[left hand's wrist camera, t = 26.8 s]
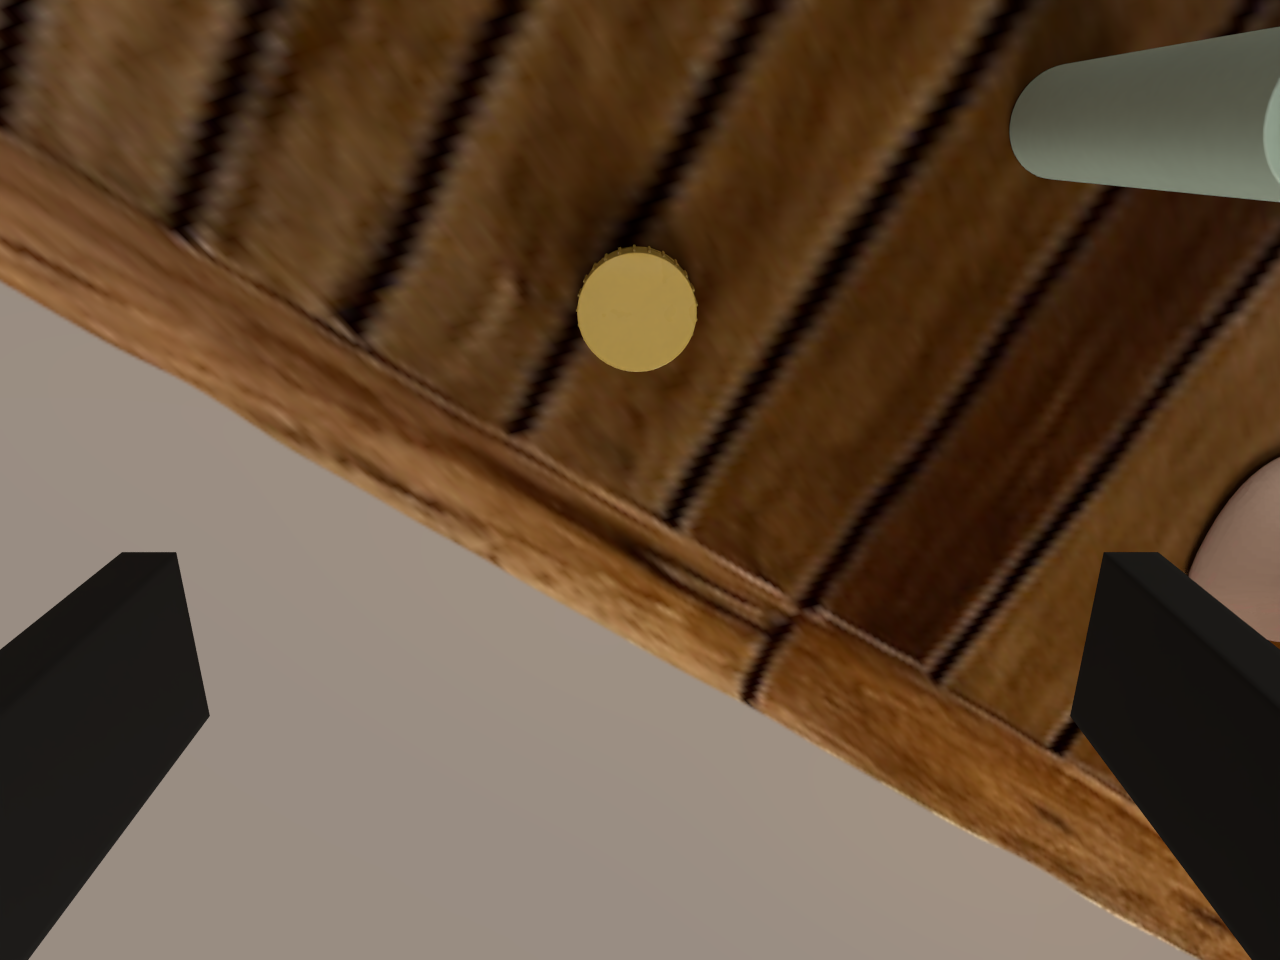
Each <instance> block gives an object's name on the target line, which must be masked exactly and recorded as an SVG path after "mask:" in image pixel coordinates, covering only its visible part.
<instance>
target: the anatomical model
mask: <svg viewBox="0 0 1280 960" xmlns="http://www.w3.org/2000/svg"><path fill="white" fill-rule="evenodd" d="M1188 577H1189V578H1191V579H1192V580H1193V581H1194V582H1196V583H1197V584H1198V585H1199V586H1201V587H1202V588H1203V589H1204V590H1206V591H1207V592H1208V593H1209V594H1211V595H1212V596H1213V597H1214V598H1216V599H1217V600H1218V601H1219V602H1221V603H1222V604H1223V605H1224V606H1226V607H1227V608H1228V609H1229V610H1231V611H1232V612H1233V613H1234V614H1236V615H1237V616H1238V617H1239V618H1241V619H1242V620H1243V621H1244V622H1246V623H1247V624H1248V625H1249V626H1251V627H1252V628H1253V629H1254V630H1256V631H1257V632H1258V633H1259V634H1261V635H1262V636H1263V637H1264V638H1266V639H1267V640H1271V641H1277V642H1280V457H1279V458H1277V459H1275V460H1273V461H1271V462H1270V463H1268V464H1266V465H1265V466H1263V467H1262V468H1261V469H1259V470H1258V471H1257V472H1256V473H1254V474H1253V475H1252V476H1251V477H1250V478H1249V479H1248V480H1247V481H1246V482H1245V483H1244V484H1242V485H1241V487H1240V488H1239V489H1238V490H1237V491H1236V492H1235V494H1234V495H1233V496H1232V497H1231V498H1230V499H1229V501H1228V502H1227V504H1226V505H1225V506H1224V508H1223V509H1222V511H1221V512H1220V513H1219V515H1218V516H1217V518H1216V520H1215V521H1214V523H1213V525H1212V526H1211V528H1210V530H1209V531H1208V533H1207V535H1206V537H1205V539H1204V540H1203V542H1202V544H1201V546H1200V548H1199V550H1198V552H1197V554H1196V557H1195V559H1194V561H1193V564H1192V566H1191V569H1190V572H1189V575H1188Z"/></svg>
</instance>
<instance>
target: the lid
mask: <svg viewBox="0 0 1280 960" xmlns="http://www.w3.org/2000/svg"><path fill="white" fill-rule="evenodd" d="M583 282H584V285H583V287H582V288H580V291H579V293H578V297H579V300H578V306H577V308H576V312H577V316H578V327H579V328H580V331H581V334H582V336H583V339H584V341H585V342H586V344H587V345H588V347H589V348H590V349H591V351H592V352H593V353H594V354H595V355H596V356H597V357H598V358H600V359H601V360H602V361H604V362H605V363H607V364H608V365H611V366H613V367H615V368H618V369H621V370H625V371H632V372H642V371H649V370H653V369H656V368H659V367H661V366H664V365H666V364H667V363H669V362H670V361H672V360H673V359H674V358H676V357H677V356H678V355H679V354H680V353H681V352H682V351H683V350H684V348H685V347H686V345H687V344H688V342H689V340H690V338H691V337H692V335H693V331H694V328H695V324H696V321H697V317H696V316H697V308H696V306H698V304H697V301H696V298H695V296H694V293H693V292H694V291H695V290H694V287H693V284H692V283H691V284H690V282H689V280H688V275H687V272H686V270H684V271H683V269H682V268H681V267H680V266H679V264H678V263H677V260H676V259H674V260H673V259H672V258H671V257H669V256H668V255H666V254H665V252H664V251H662V252H660V251H658V250H655V249H652V248H651V247H650V246H648V247H639V246H636V245H633V247H627V248H622V249H621V247H619V248H618V250H616V251H614V252H612V253H610V254H607V253H606V254H605V256H604V258H602V259H601V260H600V261H599V262H598V263H597V264H596V263H594V265H593V267H592V269H591V271H590V273H589V274H588V275H587V274H586V276H585V278H584V281H583Z"/></svg>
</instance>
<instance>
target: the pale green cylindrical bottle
mask: <svg viewBox="0 0 1280 960" xmlns="http://www.w3.org/2000/svg"><path fill="white" fill-rule="evenodd" d="M1010 141H1011V146H1012V149H1013V152H1014V154H1015V156H1016V158H1017V159H1018V161H1019V162H1020V163H1021V165H1022V166H1023V167H1024V168H1025V169H1027V170H1028V171H1029V172H1031V173H1032V174H1034V175H1036V176H1039V177H1042V178H1047V179H1054V180H1064V181H1074V182H1084V183H1094V184H1104V185H1114V186H1124V187H1134V188H1144V189H1154V190H1164V191H1174V192H1184V193H1194V194H1204V195H1214V196H1224V197H1234V198H1244V199H1254V200H1264V201H1274V202H1280V27H1275V28H1269V29H1263V30H1258V31H1252V32H1246V33H1240V34H1235V35H1229V36H1223V37H1218V38H1212V39H1206V40H1200V41H1195V42H1189V43H1183V44H1177V45H1172V46H1166V47H1160V48H1154V49H1149V50H1143V51H1137V52H1131V53H1126V54H1120V55H1114V56H1108V57H1103V58H1097V59H1091V60H1086V61H1080V62H1074V63H1068V64H1063V65H1059V66H1056V67H1053V68H1051V69H1048V70H1047V71H1045V72H1043V73H1041V74H1040V75H1039V76H1037V77H1036V78H1035V79H1034V80H1033V81H1031V82H1030V83H1029V85H1028V86H1027V87H1026V88H1025V89H1024V91H1023V92H1022V93H1021V95H1020V96H1019V98H1018V100H1017V102H1016V104H1015V107H1014V109H1013V112H1012V116H1011V121H1010Z"/></svg>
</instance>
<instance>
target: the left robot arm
mask: <svg viewBox="0 0 1280 960" xmlns="http://www.w3.org/2000/svg"><path fill="white" fill-rule="evenodd" d="M209 716H210V715H209V710H208V705H207V700H206V696H205V691H204V686H203V681H202V676H201V671H200V666H199V662H198V656H197V652H196V647H195V642H194V637H193V632H192V627H191V622H190V617H189V613H188V608H187V603H186V598H185V593H184V588H183V583H182V578H181V573H180V569H179V564H178V559H177V554H176V552H122V553H121V554H119V555H118V556H117V557H116V558H114V559H113V560H112V561H111V562H109V563H108V564H107V565H106V566H104V567H103V568H102V569H101V570H99V571H98V572H97V573H96V574H94V575H93V576H92V577H91V578H89V579H88V580H87V581H86V582H84V583H83V584H82V585H81V586H79V587H78V588H77V589H76V590H74V591H73V592H72V593H71V594H69V595H68V596H67V597H66V598H64V599H63V600H62V601H61V602H59V603H58V604H57V605H56V606H54V607H53V608H52V609H51V610H49V611H48V612H47V613H46V614H44V615H43V616H42V617H41V618H39V619H38V620H37V621H36V622H34V623H33V624H32V625H31V626H29V627H28V628H27V629H26V630H24V631H23V632H22V633H21V634H19V635H18V636H17V637H16V638H14V639H13V640H12V641H11V642H9V643H8V644H7V645H6V646H4V647H3V648H2V649H1V650H0V960H28V959H29V958H30V957H31V955H32V954H33V952H34V951H35V950H36V948H37V947H38V946H39V944H40V943H41V942H42V940H43V939H44V938H45V936H46V935H47V934H48V932H49V931H50V930H51V928H52V927H53V926H54V924H55V923H56V922H57V920H58V919H59V918H60V916H61V915H62V913H63V912H64V911H65V909H66V908H67V907H68V906H69V904H70V903H71V901H72V900H73V899H74V897H75V896H76V895H77V893H78V892H79V891H80V889H81V888H82V887H83V885H84V884H85V883H86V881H87V880H88V879H89V877H90V876H91V875H92V873H93V872H94V871H95V869H96V868H97V867H98V865H99V864H100V863H101V861H102V860H103V858H104V857H105V856H106V854H107V853H108V852H109V850H110V849H111V848H112V846H113V845H114V844H115V842H116V841H117V840H118V838H119V837H120V836H121V834H122V833H123V832H124V830H125V829H126V828H127V826H128V825H129V824H130V822H131V821H132V820H133V818H134V817H135V815H136V814H137V813H138V812H139V810H140V809H141V807H142V806H143V805H144V803H145V802H146V801H147V799H148V798H149V797H150V795H151V794H152V793H153V791H154V790H155V789H156V787H157V786H158V785H159V783H160V782H161V781H162V779H163V778H164V777H165V775H166V774H167V772H168V771H169V770H170V769H171V767H172V766H173V764H174V763H175V762H176V761H177V759H178V758H179V756H180V755H181V754H182V752H183V751H184V750H185V748H186V747H187V746H188V744H189V743H190V742H191V740H192V739H193V738H194V736H195V735H196V734H197V732H198V731H199V730H200V728H201V727H202V726H203V724H204V723H205V722H206V720H207V719H208V718H209ZM1070 716H1071V718H1072V719H1073V720H1074V722H1075V723H1076V724H1077V726H1078V727H1079V728H1080V730H1081V731H1082V732H1083V734H1084V735H1085V736H1086V738H1087V739H1088V740H1089V742H1090V743H1091V744H1092V746H1093V747H1094V748H1095V750H1096V751H1097V752H1098V754H1099V755H1100V756H1101V758H1102V759H1103V761H1104V762H1105V763H1106V765H1107V766H1108V767H1109V769H1110V770H1111V771H1112V773H1113V774H1114V775H1115V777H1116V778H1117V779H1118V781H1119V782H1120V783H1121V785H1122V786H1123V787H1124V789H1125V790H1126V791H1127V793H1128V794H1129V795H1130V797H1131V798H1132V799H1133V801H1134V802H1135V803H1136V805H1137V806H1138V808H1139V809H1140V810H1141V812H1142V813H1143V814H1144V816H1145V817H1146V818H1147V820H1148V821H1149V822H1150V824H1151V825H1152V826H1153V828H1154V829H1155V830H1156V832H1157V833H1158V834H1159V836H1160V837H1161V838H1162V840H1163V841H1164V842H1165V844H1166V845H1167V846H1168V848H1169V849H1170V850H1171V852H1172V853H1173V855H1174V856H1175V857H1176V859H1177V860H1178V861H1179V863H1180V864H1181V865H1182V867H1183V868H1184V869H1185V871H1186V872H1187V873H1188V875H1189V876H1190V877H1191V879H1192V880H1193V881H1194V883H1195V884H1196V885H1197V887H1198V888H1199V889H1200V891H1201V892H1202V893H1203V895H1204V896H1205V897H1206V899H1207V900H1208V902H1209V903H1210V904H1211V906H1212V907H1213V908H1214V910H1215V911H1216V912H1217V914H1218V915H1219V916H1220V918H1221V919H1222V920H1223V922H1224V923H1225V924H1226V926H1227V927H1228V928H1229V930H1230V931H1231V932H1232V934H1233V935H1234V936H1235V938H1236V939H1237V940H1238V942H1239V943H1240V944H1241V946H1242V947H1243V949H1244V950H1245V951H1246V953H1247V954H1248V955H1249V957H1250V958H1251V959H1252V960H1280V650H1279V649H1278V648H1277V647H1276V646H1274V645H1273V644H1272V643H1271V642H1269V641H1268V640H1267V639H1266V638H1264V637H1263V636H1262V635H1261V634H1259V633H1258V632H1257V631H1256V630H1254V629H1253V628H1252V627H1251V626H1249V625H1248V624H1247V623H1246V622H1244V621H1243V620H1242V619H1241V618H1239V617H1238V616H1237V615H1236V614H1234V613H1233V612H1232V611H1231V610H1229V609H1228V608H1227V607H1226V606H1224V605H1223V604H1222V603H1221V602H1219V601H1218V600H1217V599H1216V598H1214V597H1213V596H1212V595H1211V594H1209V593H1208V592H1207V591H1206V590H1204V589H1203V588H1202V587H1201V586H1199V585H1198V584H1197V583H1196V582H1194V581H1193V580H1192V579H1191V578H1189V577H1188V576H1187V575H1186V574H1184V573H1183V572H1182V571H1181V570H1179V569H1178V568H1177V567H1176V566H1174V565H1173V564H1172V563H1171V562H1169V561H1168V560H1167V559H1166V558H1164V557H1163V556H1162V555H1161V554H1159V553H1158V552H1104V554H1103V559H1102V564H1101V569H1100V573H1099V578H1098V583H1097V588H1096V593H1095V598H1094V603H1093V608H1092V613H1091V617H1090V622H1089V627H1088V632H1087V637H1086V642H1085V647H1084V652H1083V656H1082V661H1081V666H1080V671H1079V676H1078V681H1077V686H1076V691H1075V695H1074V700H1073V705H1072V710H1071V715H1070Z"/></svg>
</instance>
